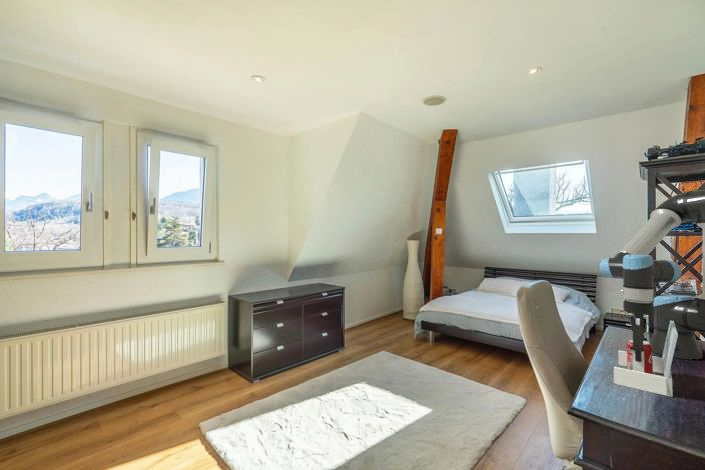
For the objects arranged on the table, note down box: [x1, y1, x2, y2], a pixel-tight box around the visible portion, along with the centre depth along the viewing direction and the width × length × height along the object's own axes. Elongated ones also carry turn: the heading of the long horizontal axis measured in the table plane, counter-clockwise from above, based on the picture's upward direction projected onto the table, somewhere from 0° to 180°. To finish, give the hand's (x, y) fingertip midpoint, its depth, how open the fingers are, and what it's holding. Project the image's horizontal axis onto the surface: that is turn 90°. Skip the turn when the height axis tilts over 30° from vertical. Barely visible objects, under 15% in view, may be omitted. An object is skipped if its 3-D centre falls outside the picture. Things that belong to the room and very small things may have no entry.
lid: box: [661, 320, 678, 377], centre depth 101 cm, size 13×22×1 cm
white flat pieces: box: [613, 349, 673, 398], centre depth 106 cm, size 13×22×5 cm, turn 137°
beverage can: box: [626, 338, 654, 375], centre depth 106 cm, size 6×6×12 cm
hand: (639, 365), depth 106 cm, fingers open, 13 cm apart
